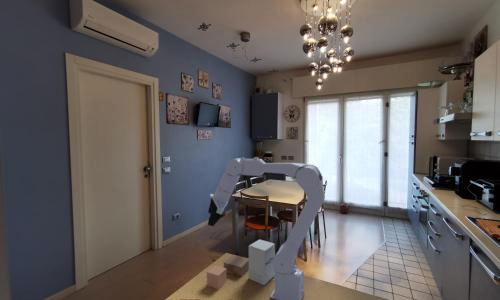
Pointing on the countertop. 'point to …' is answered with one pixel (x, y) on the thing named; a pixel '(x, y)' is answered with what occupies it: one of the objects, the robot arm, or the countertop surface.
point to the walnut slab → (237, 265)
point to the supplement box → (261, 261)
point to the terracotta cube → (216, 277)
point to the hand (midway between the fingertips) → (210, 218)
